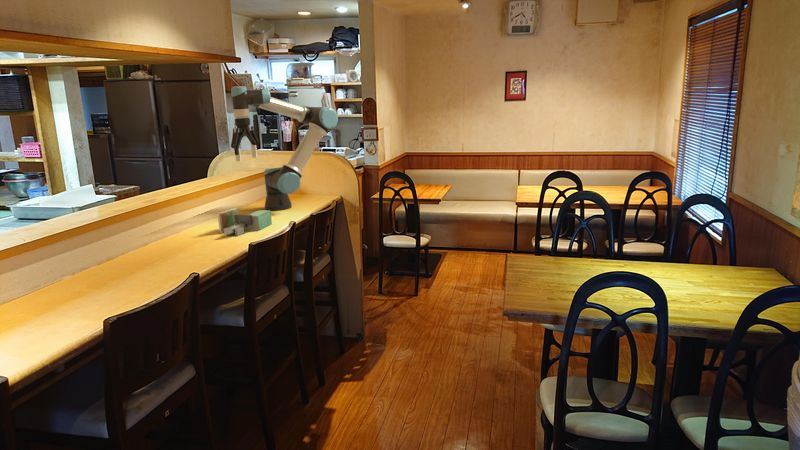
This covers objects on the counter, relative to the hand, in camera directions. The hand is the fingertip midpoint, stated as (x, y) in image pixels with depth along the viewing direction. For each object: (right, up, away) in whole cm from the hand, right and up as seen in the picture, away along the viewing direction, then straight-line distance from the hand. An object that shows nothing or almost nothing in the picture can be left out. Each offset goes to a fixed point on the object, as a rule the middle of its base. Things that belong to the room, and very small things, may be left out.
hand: (247, 159), depth 274 cm
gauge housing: (+1, -37, -19) cm, 42 cm away
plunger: (+1, -37, -24) cm, 44 cm away
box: (+10, -35, -13) cm, 39 cm away
